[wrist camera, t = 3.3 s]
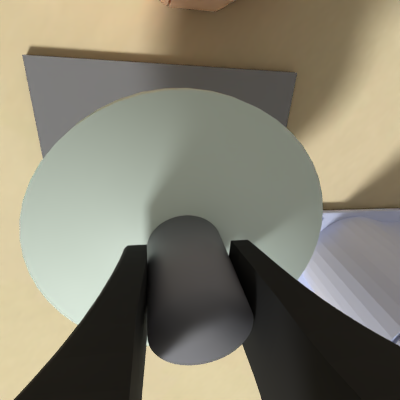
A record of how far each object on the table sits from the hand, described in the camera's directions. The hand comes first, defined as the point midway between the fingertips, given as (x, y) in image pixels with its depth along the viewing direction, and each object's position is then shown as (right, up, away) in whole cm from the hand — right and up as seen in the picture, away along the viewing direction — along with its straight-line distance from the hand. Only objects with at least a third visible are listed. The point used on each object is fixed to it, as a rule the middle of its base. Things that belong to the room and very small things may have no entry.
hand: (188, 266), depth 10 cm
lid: (0, +1, +2) cm, 2 cm away
